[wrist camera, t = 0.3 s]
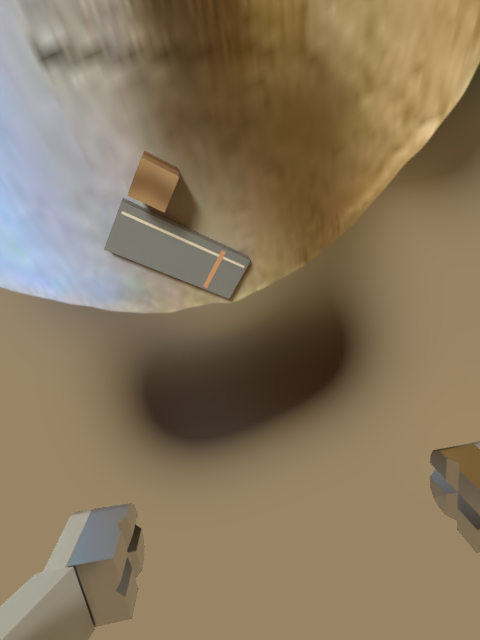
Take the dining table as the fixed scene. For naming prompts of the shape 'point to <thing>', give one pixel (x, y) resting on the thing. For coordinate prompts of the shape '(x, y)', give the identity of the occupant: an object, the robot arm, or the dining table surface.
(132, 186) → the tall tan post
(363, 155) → the dining table surface
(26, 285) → the dining table surface
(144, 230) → the board
